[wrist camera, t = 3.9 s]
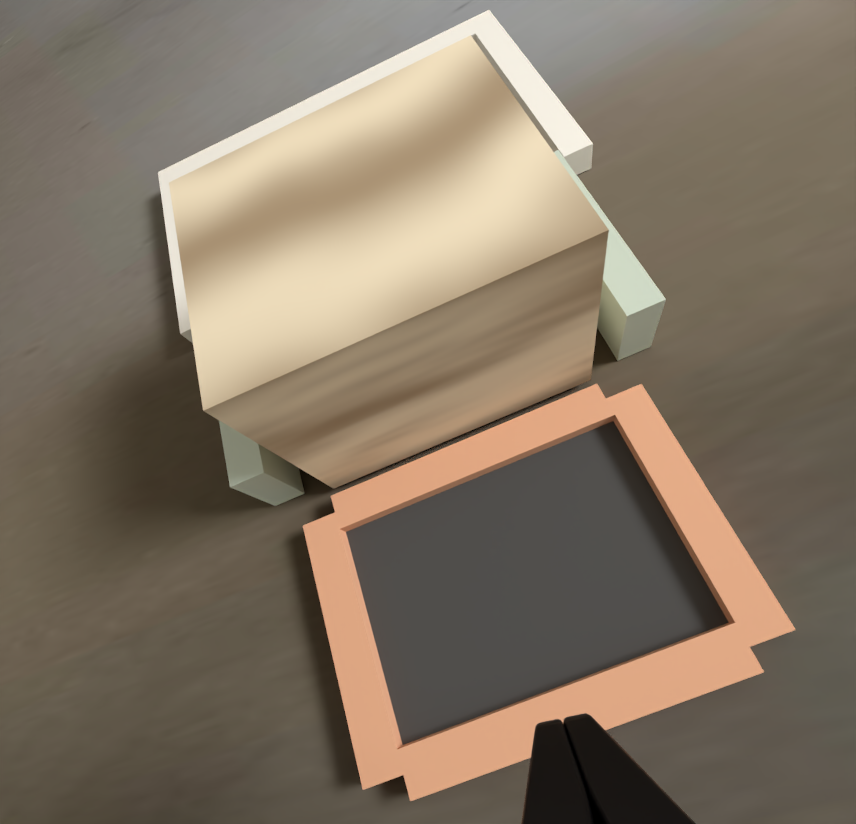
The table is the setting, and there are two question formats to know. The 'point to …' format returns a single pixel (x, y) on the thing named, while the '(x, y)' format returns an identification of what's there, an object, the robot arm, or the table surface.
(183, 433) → the table surface
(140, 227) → the table surface
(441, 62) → the maple block
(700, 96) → the table surface
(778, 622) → the frame
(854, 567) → the table surface
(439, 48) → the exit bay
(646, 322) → the sage guide walls
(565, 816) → the robot arm
